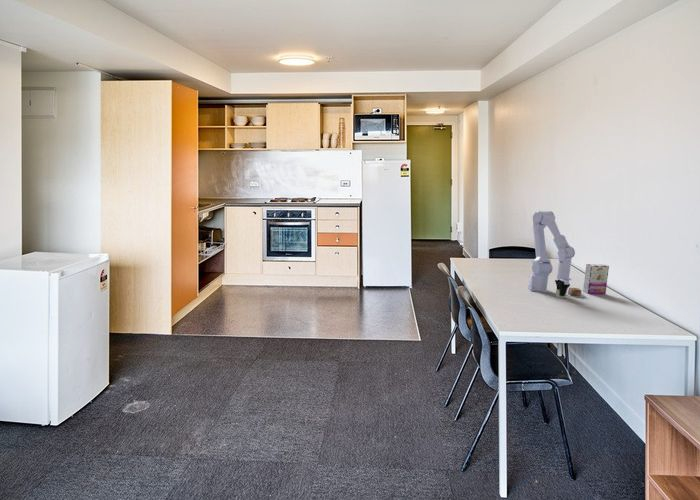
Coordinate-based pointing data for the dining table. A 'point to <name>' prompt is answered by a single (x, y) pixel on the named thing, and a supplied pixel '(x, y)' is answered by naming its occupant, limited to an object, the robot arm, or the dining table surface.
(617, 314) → the dining table surface
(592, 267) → the candy bar box
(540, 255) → the robot arm
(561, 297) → the sage cube
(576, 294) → the brown block
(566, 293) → the blueprint mat
